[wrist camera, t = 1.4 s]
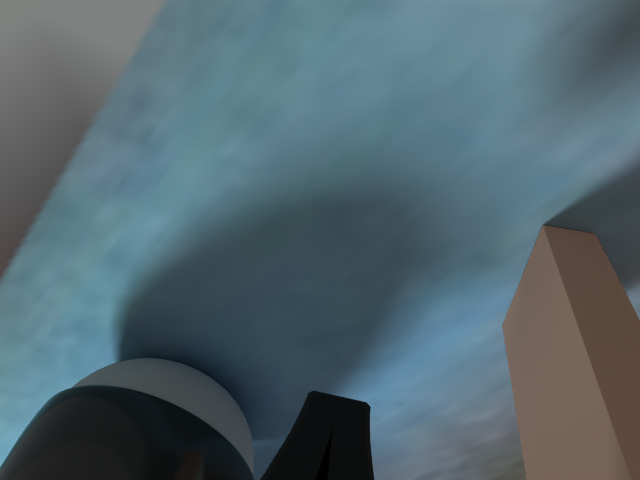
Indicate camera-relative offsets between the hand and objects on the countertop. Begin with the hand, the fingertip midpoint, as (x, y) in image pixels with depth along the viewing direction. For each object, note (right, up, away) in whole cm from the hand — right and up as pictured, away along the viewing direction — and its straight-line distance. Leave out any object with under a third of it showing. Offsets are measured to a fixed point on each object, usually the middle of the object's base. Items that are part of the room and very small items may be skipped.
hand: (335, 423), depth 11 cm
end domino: (+7, +3, +5) cm, 9 cm away
